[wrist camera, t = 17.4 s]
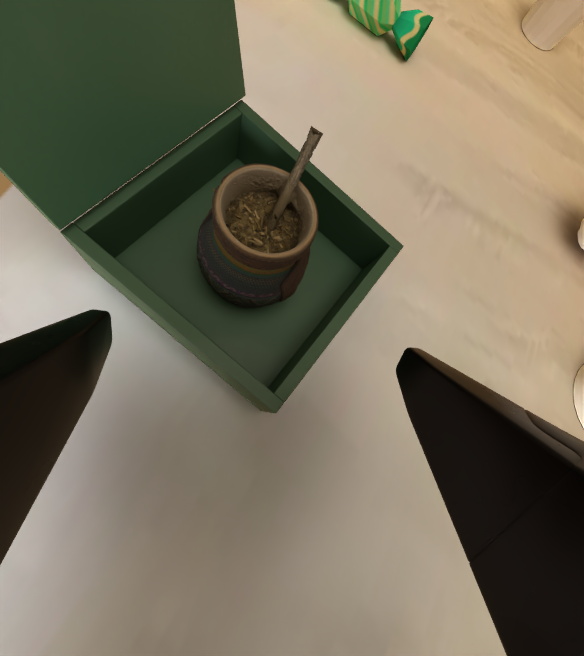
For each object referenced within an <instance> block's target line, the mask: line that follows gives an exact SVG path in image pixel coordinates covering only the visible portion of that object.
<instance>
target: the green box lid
mask: <svg viewBox="0 0 584 656" xmlns="http://www.w3.org/2000/svg"><path fill="white" fill-rule="evenodd" d="M244 96H245V87H244V79H243V70H242V62H241V53H240V45H239V37H238V28H237V20H236V12H235V3H234V0H0V171H1V172H2V173H3V174H4V175H5V176H6V177H7V178H8V179H9V180H10V181H11V182H12V183H13V184H14V185H15V186H16V188H17V189H18V190H19V191H20V192H21V193H22V194H23V195H24V196H25V197H26V198H27V199H28V200H29V201H30V202H31V203H32V204H33V205H34V206H35V207H36V208H37V209H38V210H39V211H40V212H41V213H42V214H43V215H44V216H45V217H46V218H47V219H48V220H49V221H50V223H51V224H53V225H54V226H55V227H56V228H58V229H59V230H61V229H62V228H64V227H65V226H66V225H68V224H69V223H71V222H72V221H73V220H75V219H76V218H77V217H79V216H80V215H82V214H83V213H84V212H86V211H87V210H88V209H90V208H91V207H93V206H94V205H95V204H97V203H98V202H99V201H101V200H102V199H104V198H105V197H106V196H108V195H109V194H110V193H112V192H113V191H115V190H116V189H117V188H119V187H120V186H121V185H123V184H124V183H126V182H127V181H128V180H130V179H131V178H132V177H134V176H135V175H137V174H138V173H139V172H141V171H142V170H143V169H145V168H146V167H148V166H149V165H150V164H152V163H153V162H154V161H156V160H157V159H159V158H160V157H161V156H163V155H164V154H166V153H167V152H168V151H170V150H171V149H172V148H174V147H175V146H177V145H178V144H179V143H181V142H182V141H183V140H185V139H186V138H188V137H189V136H190V135H192V134H193V133H194V132H196V131H197V130H199V129H200V128H201V127H203V126H204V125H205V124H207V123H208V122H210V121H211V120H212V119H214V118H215V117H216V116H218V115H219V114H221V113H222V112H223V111H225V110H226V109H227V108H229V107H230V106H232V105H233V104H234V103H236V102H237V101H238V100H240V99H241V98H243V97H244Z"/></svg>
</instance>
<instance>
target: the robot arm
mask: <svg viewBox="0 0 584 656" xmlns="http://www.w3.org/2000/svg"><path fill="white" fill-rule="evenodd" d="M111 343H112V329H111V317H110V314H109V312H107V311H101V310H89V311H86V312H83V313H81V314H78V315H75V316H73V317H70V318H67V319H65V320H62V321H59V322H56V323H54V324H51V325H48V326H46V327H43V328H40V329H38V330H35V331H32V332H30V333H27V334H24V335H21V336H19V337H16V338H13V339H11V340H8V341H5V342H3V343H0V565H1V563H2V561H3V559H4V557H5V555H6V553H7V552H8V550H9V548H10V546H11V544H12V542H13V540H14V539H15V537H16V535H17V533H18V531H19V529H20V527H21V526H22V524H23V522H24V520H25V518H26V516H27V514H28V513H29V511H30V509H31V507H32V505H33V503H34V502H35V500H36V498H37V496H38V494H39V492H40V490H41V489H42V487H43V485H44V483H45V481H46V479H47V477H48V476H49V474H50V472H51V470H52V468H53V466H54V464H55V463H56V461H57V459H58V457H59V455H60V453H61V451H62V450H63V448H64V446H65V444H66V442H67V440H68V438H69V437H70V435H71V433H72V431H73V429H74V427H75V425H76V424H77V422H78V420H79V418H80V416H81V414H82V412H83V411H84V409H85V407H86V405H87V403H88V401H89V399H90V397H91V395H92V393H93V391H94V389H95V386H96V384H97V381H98V379H99V376H100V373H101V371H102V368H103V365H104V363H105V360H106V358H107V355H108V352H109V350H110V347H111ZM396 375H397V378H398V382H399V385H400V388H401V392H402V395H403V399H404V402H405V405H406V408H407V412H408V414H409V417H410V420H411V422H412V425H413V427H414V429H415V432H416V434H417V437H418V439H419V442H420V444H421V446H422V449H423V451H424V454H425V456H426V459H427V461H428V464H429V466H430V468H431V471H432V473H433V476H434V478H435V481H436V483H437V486H438V488H439V490H440V493H441V495H442V498H443V500H444V503H445V505H446V507H447V510H448V512H449V515H450V517H451V520H452V522H453V525H454V527H455V529H456V532H457V534H458V537H459V539H460V542H461V544H462V547H463V549H464V551H465V554H466V556H467V559H468V561H469V562H470V563H469V564H470V567H471V569H472V572H473V574H474V576H475V579H476V581H477V584H478V586H479V589H480V591H481V594H482V596H483V598H484V601H485V603H486V606H487V608H488V611H489V613H490V616H491V618H492V620H493V623H494V625H495V628H496V630H497V633H498V635H499V638H500V640H501V643H502V645H503V647H504V650H505V652H506V655H507V656H584V442H583V441H582V440H580V439H578V438H576V437H574V436H572V435H570V434H569V433H567V432H565V431H563V430H561V429H559V428H558V427H556V426H554V425H552V424H550V423H549V422H547V421H545V420H543V419H542V418H540V417H538V416H536V415H534V414H533V413H531V412H529V411H528V410H524V408H522V407H520V406H519V405H517V404H515V403H513V402H512V401H510V400H508V399H506V398H505V397H503V396H501V395H500V394H498V393H496V392H494V391H493V390H491V389H489V388H487V387H486V386H484V385H482V384H480V383H479V382H477V381H475V380H473V379H472V378H470V377H468V376H466V375H465V374H463V373H461V372H459V371H458V370H456V369H454V368H452V367H451V366H449V365H447V364H445V363H444V362H442V361H440V360H439V359H437V358H435V357H433V356H432V355H430V354H428V353H426V352H425V351H423V350H421V349H418V348H407V349H406V350H405V351H404V353H403V355H402V357H401V359H400V361H399V363H398V365H397V367H396Z"/></svg>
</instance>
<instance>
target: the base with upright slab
mask: <svg viewBox="0 0 584 656" xmlns="http://www.w3.org/2000/svg"><path fill="white" fill-rule="evenodd" d="M573 393H574V404H575V408H576V411H577V415H578V418H579V420H580V422H581V424H582V426H583V428H584V365H583V366H582V367H581V368H580V369H579V371H578V373H577V375H576V378H575V382H574V390H573Z"/></svg>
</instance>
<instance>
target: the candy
mask: <svg viewBox="0 0 584 656" xmlns="http://www.w3.org/2000/svg"><path fill="white" fill-rule="evenodd" d="M348 4H349V14H350V15H352V16H353V17H354V18H355V19H357V20H358V21H359V22H360V23H361V24H363V25H364V26H365V27H366V28H368V29H369V30H370V31H371V32H373V33H374V34H375V35H376V36H379V35H381V34H383V33H386V32H388V31H390V30H393V33H394V36H395V39H396V42H397V45H398V47H399V49H400V51H401V52H402V54H403V56H404V58H405V60H406V61H407V60H408V59H409V57H410V56H411V54H412V53H413V52H414V50H415V49H416V47H417V45H418V44H419V42H420V41H421V39H422V37H423V36H424V34H425V32H426V31H427V29H428V27H429V25H430V23H431V22H432V20H433V17H432V16H430V15H428V14H426V13H424V12H422V11H420V10H410V11H403V12H401V0H348Z"/></svg>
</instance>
